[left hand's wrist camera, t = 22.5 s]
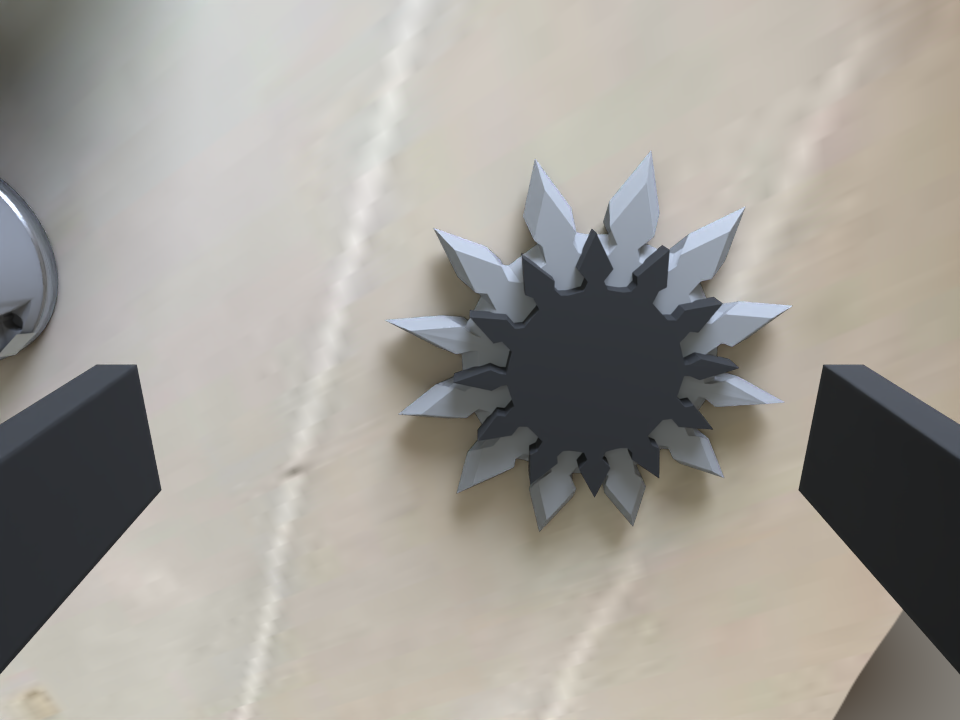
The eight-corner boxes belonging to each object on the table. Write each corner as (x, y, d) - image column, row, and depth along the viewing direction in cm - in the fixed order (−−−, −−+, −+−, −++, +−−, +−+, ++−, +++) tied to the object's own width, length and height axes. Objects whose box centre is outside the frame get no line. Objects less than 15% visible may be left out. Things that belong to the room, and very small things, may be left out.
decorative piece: (347, 517, 48) (418, 95, 38) (356, 489, 52) (424, 98, 42) (729, 587, 50) (892, 205, 40) (711, 555, 54) (857, 198, 44)
